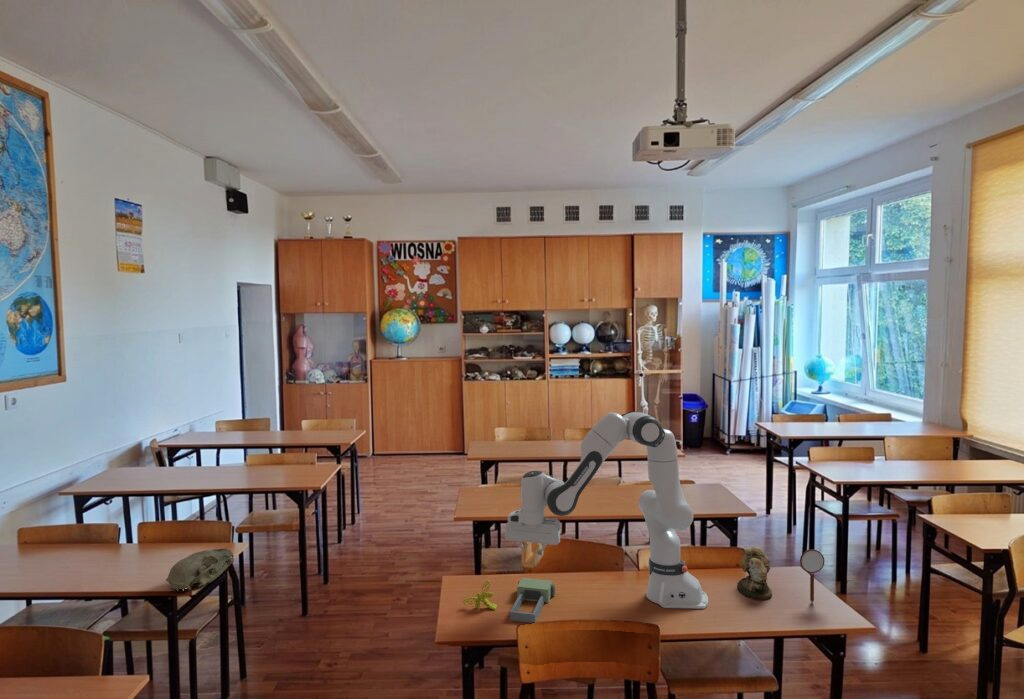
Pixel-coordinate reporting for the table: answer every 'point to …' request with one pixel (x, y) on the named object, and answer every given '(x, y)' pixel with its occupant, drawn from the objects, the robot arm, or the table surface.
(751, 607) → the table surface
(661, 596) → the robot arm
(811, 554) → the magnifying glass
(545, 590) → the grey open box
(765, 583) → the stone bust
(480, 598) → the decorative insect
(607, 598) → the table surface
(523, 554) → the chute
